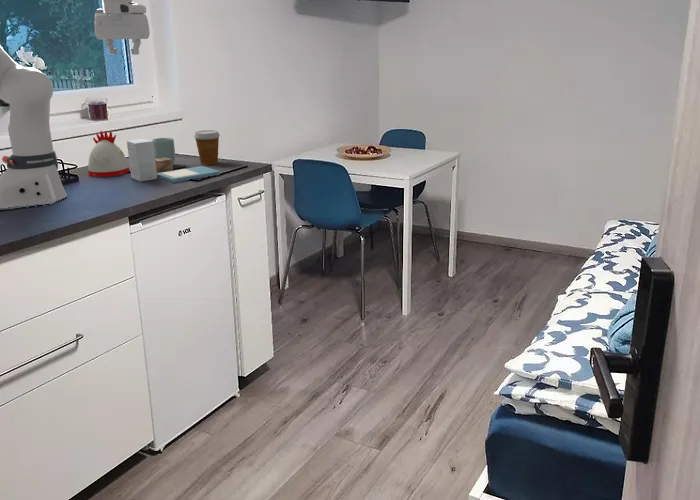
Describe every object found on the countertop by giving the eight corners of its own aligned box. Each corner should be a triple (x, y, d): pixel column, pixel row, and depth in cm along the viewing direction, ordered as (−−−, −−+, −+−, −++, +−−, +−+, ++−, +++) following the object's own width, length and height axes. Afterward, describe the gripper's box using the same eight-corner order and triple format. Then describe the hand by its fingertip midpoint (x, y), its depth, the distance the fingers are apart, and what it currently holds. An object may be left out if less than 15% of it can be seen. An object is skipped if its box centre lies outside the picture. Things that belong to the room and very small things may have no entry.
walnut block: (160, 175, 224) (158, 161, 223) (154, 173, 228) (152, 159, 226) (173, 173, 227) (171, 159, 226) (167, 170, 231) (165, 157, 229)
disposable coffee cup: (195, 166, 237) (192, 134, 233) (197, 161, 246) (194, 130, 242) (221, 165, 238) (218, 133, 234) (222, 160, 247) (220, 129, 243)
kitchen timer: (121, 176, 223) (115, 133, 218) (82, 177, 223) (75, 134, 218) (134, 168, 236) (129, 127, 231) (98, 168, 237) (91, 128, 232)
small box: (157, 179, 218) (153, 141, 214) (140, 181, 214) (135, 143, 210) (148, 175, 224) (143, 138, 220) (130, 178, 220) (125, 140, 216)
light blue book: (172, 182, 212) (172, 178, 211) (156, 176, 221) (155, 172, 221) (220, 174, 223) (220, 170, 222) (202, 169, 232) (202, 165, 232)
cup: (157, 164, 242) (153, 138, 239) (177, 163, 243) (175, 137, 240) (153, 168, 235) (150, 141, 232) (174, 167, 236) (171, 140, 233)
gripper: (86, 8, 198) (93, 55, 203) (134, 6, 189) (140, 55, 194) (102, 9, 203) (108, 54, 208) (150, 6, 194) (155, 54, 199)
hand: (124, 54), depth 201 cm, fingers open, 8 cm apart
